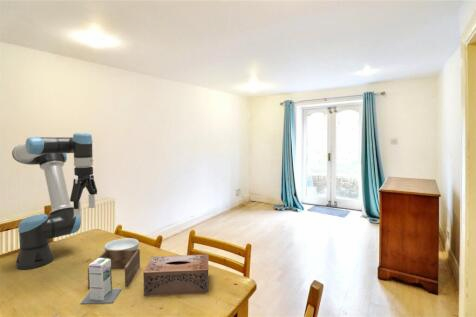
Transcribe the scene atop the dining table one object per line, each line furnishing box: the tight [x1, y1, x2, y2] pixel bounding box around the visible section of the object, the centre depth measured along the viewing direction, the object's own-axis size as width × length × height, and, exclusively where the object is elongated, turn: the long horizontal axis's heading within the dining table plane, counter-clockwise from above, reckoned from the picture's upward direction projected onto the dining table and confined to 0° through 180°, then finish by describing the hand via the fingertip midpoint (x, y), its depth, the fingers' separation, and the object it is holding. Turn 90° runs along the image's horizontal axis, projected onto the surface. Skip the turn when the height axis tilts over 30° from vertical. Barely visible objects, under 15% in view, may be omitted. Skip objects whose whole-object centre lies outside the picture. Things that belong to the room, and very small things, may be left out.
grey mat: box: [79, 288, 122, 305], centre depth 105 cm, size 12×9×1 cm
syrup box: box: [88, 257, 113, 301], centre depth 105 cm, size 6×6×14 cm
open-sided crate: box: [87, 248, 141, 290], centre depth 120 cm, size 16×18×9 cm
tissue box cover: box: [142, 254, 209, 297], centre depth 114 cm, size 26×14×10 cm, turn 96°
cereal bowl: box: [104, 237, 140, 251], centre depth 142 cm, size 17×17×7 cm
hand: (85, 211), depth 124 cm, fingers open, 13 cm apart
